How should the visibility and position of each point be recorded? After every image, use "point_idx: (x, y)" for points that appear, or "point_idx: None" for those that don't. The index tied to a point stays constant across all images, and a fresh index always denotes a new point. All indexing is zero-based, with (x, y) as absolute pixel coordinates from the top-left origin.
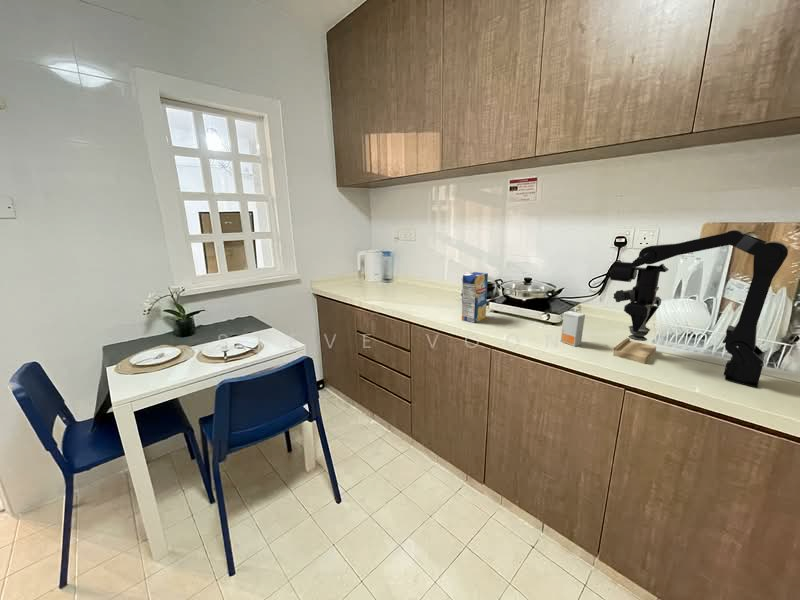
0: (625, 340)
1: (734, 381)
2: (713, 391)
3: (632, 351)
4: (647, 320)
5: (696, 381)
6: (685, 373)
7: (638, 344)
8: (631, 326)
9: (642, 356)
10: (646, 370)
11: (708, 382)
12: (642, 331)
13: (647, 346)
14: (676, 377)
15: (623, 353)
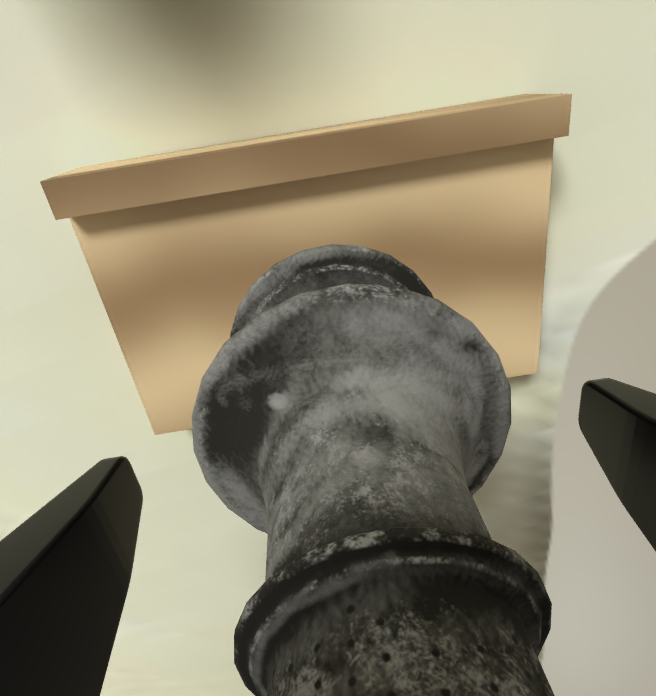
0: (443, 136)
1: None
2: (137, 669)
3: (207, 312)
4: (654, 534)
5: (185, 615)
6: (247, 565)
7: (479, 256)
8: (306, 348)
9: (165, 410)
10: (56, 456)
11: (228, 636)
12: (241, 512)
13: (481, 329)
14: (136, 565)
15: (98, 272)
